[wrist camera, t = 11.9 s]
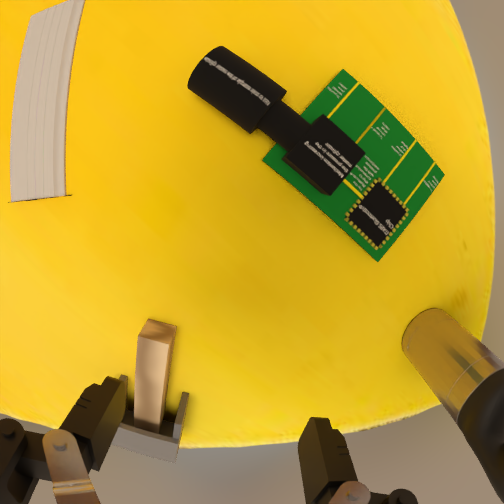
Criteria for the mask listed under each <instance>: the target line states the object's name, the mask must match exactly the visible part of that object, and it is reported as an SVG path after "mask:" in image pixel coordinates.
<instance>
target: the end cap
mask: <svg viewBox="0 0 504 504" xmlns="http://www.w3.org/2000/svg"><path fill="white" fill-rule="evenodd" d="M119 380H122V381H124V383H125V404H126V406H125V413H124V416H123V419H122V421H121V423H120V425H119V427H118V430H117V432H116V434H115V436H114V438H113V441H112V443H111V444H112V445H114V446H117V447H120V448H123V449H126V450H129V451H133V452H136V453H140V454H143V455H146V456H149V457H153V458H157V459H160V460H164V461H168V462H172V463H175V462H176V458H177V453H178V448H179V444H180V439H181V435H182V430H183V425H184V419H185V413H186V408H187V402H188V397H189V393H185V392H183V393H182V397H181V401H180V404H179V408H178V412H177V416H176V420H175V423H172V422H169V421H165V420H162V424H161V427H160V430H159V434H156V433H153V432H149V431H146V430H142V429H139V428H136V427H134V412H133V411H130V410H127V376H124V375H121V377H120V378H119Z"/></svg>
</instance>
